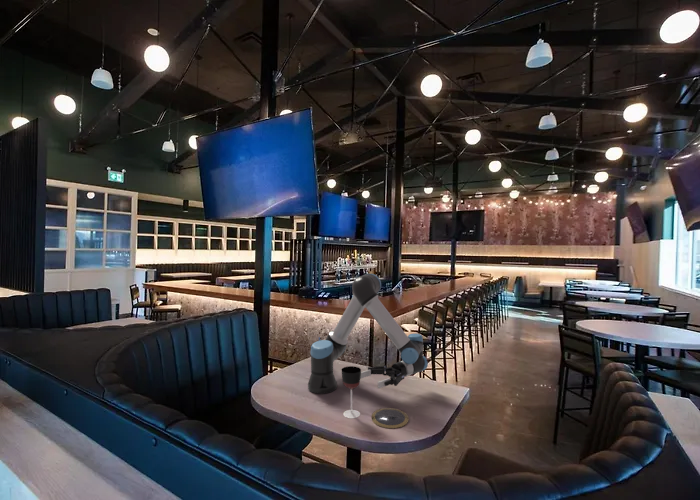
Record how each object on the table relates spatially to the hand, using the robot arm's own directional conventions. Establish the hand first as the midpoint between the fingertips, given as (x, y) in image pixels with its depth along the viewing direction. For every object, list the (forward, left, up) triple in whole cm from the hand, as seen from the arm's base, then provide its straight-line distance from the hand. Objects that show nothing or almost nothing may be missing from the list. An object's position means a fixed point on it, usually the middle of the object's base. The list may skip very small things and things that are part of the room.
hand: (368, 380), depth 159 cm
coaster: (+13, -3, -13) cm, 18 cm away
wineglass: (-3, -9, -13) cm, 16 cm away
